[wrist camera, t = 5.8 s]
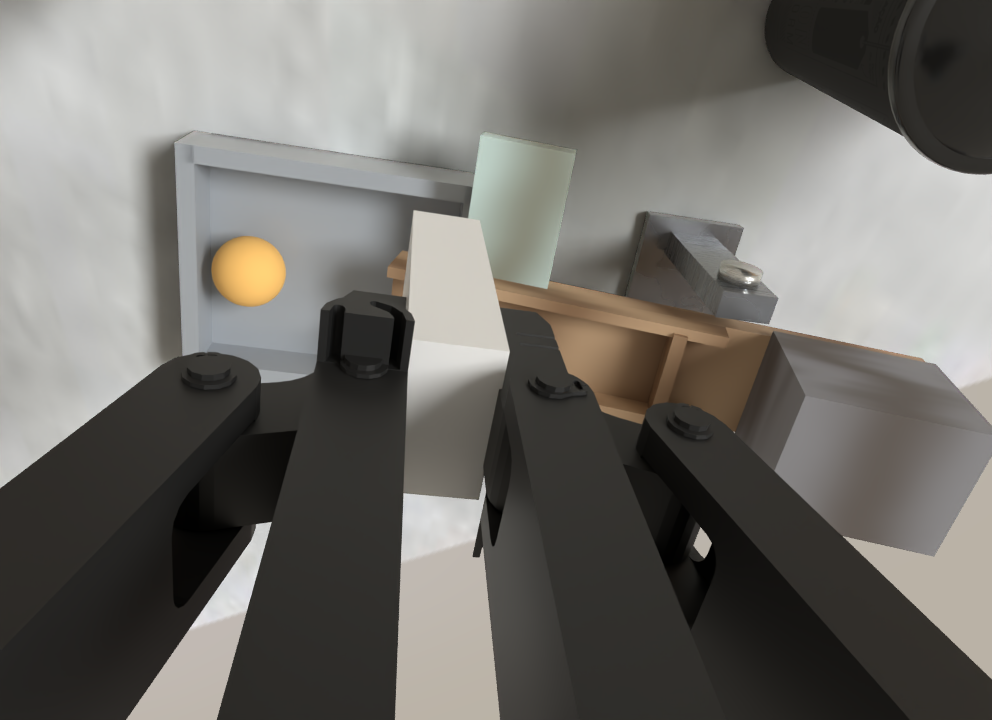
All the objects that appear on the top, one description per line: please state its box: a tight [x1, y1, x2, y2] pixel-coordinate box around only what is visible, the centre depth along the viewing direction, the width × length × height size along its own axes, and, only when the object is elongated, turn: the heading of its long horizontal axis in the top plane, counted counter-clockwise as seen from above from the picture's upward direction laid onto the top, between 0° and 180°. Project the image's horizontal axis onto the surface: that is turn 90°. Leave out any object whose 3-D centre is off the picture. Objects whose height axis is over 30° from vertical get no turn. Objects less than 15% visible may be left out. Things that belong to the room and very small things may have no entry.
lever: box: [387, 132, 992, 556], centre depth 30 cm, size 24×11×7 cm, turn 81°
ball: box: [211, 236, 286, 307], centre depth 35 cm, size 3×3×3 cm
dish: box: [174, 131, 475, 383], centre depth 36 cm, size 14×12×3 cm
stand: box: [625, 211, 778, 324], centre depth 36 cm, size 5×10×9 cm, turn 171°
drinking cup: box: [765, 0, 992, 175], centre depth 24 cm, size 8×8×20 cm
